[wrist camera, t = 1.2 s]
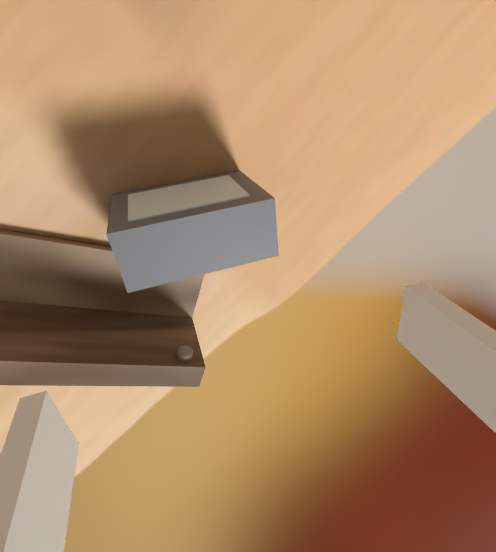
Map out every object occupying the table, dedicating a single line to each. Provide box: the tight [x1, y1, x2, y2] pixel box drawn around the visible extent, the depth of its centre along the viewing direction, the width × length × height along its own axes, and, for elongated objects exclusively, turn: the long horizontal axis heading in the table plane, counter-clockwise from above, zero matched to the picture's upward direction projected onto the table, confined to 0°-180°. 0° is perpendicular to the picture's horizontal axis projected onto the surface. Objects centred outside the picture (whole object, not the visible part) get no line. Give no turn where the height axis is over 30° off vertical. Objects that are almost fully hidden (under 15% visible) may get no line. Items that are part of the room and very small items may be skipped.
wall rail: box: [0, 229, 205, 387], centre depth 26 cm, size 8×16×8 cm, turn 72°
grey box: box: [107, 170, 279, 293], centre depth 24 cm, size 4×10×8 cm, turn 97°
